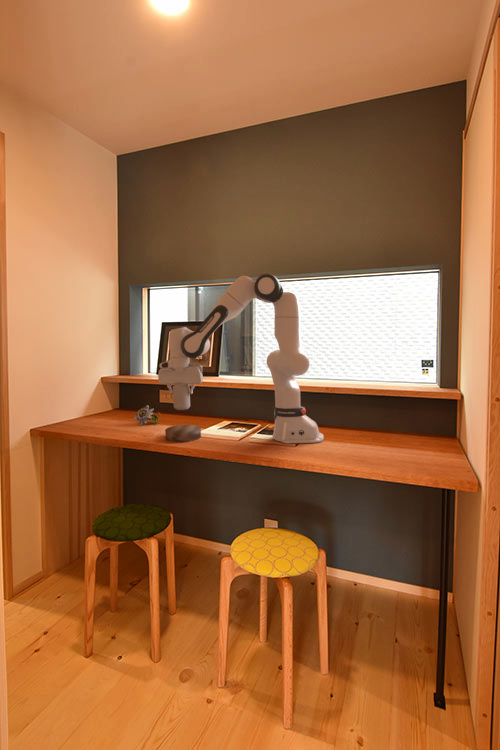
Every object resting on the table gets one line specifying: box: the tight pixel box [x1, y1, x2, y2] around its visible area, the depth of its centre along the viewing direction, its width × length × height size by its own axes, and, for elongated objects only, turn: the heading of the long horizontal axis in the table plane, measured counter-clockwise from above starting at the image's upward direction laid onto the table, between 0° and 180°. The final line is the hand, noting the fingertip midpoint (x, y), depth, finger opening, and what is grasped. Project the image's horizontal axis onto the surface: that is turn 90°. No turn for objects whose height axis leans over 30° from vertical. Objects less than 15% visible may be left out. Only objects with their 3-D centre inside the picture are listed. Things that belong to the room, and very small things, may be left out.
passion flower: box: [133, 404, 161, 426], centre depth 216 cm, size 11×11×12 cm
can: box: [172, 383, 191, 411], centre depth 184 cm, size 8×8×12 cm
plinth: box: [164, 424, 202, 443], centre depth 185 cm, size 16×16×4 cm
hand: (181, 393), depth 183 cm, fingers closed on can, 7 cm apart
